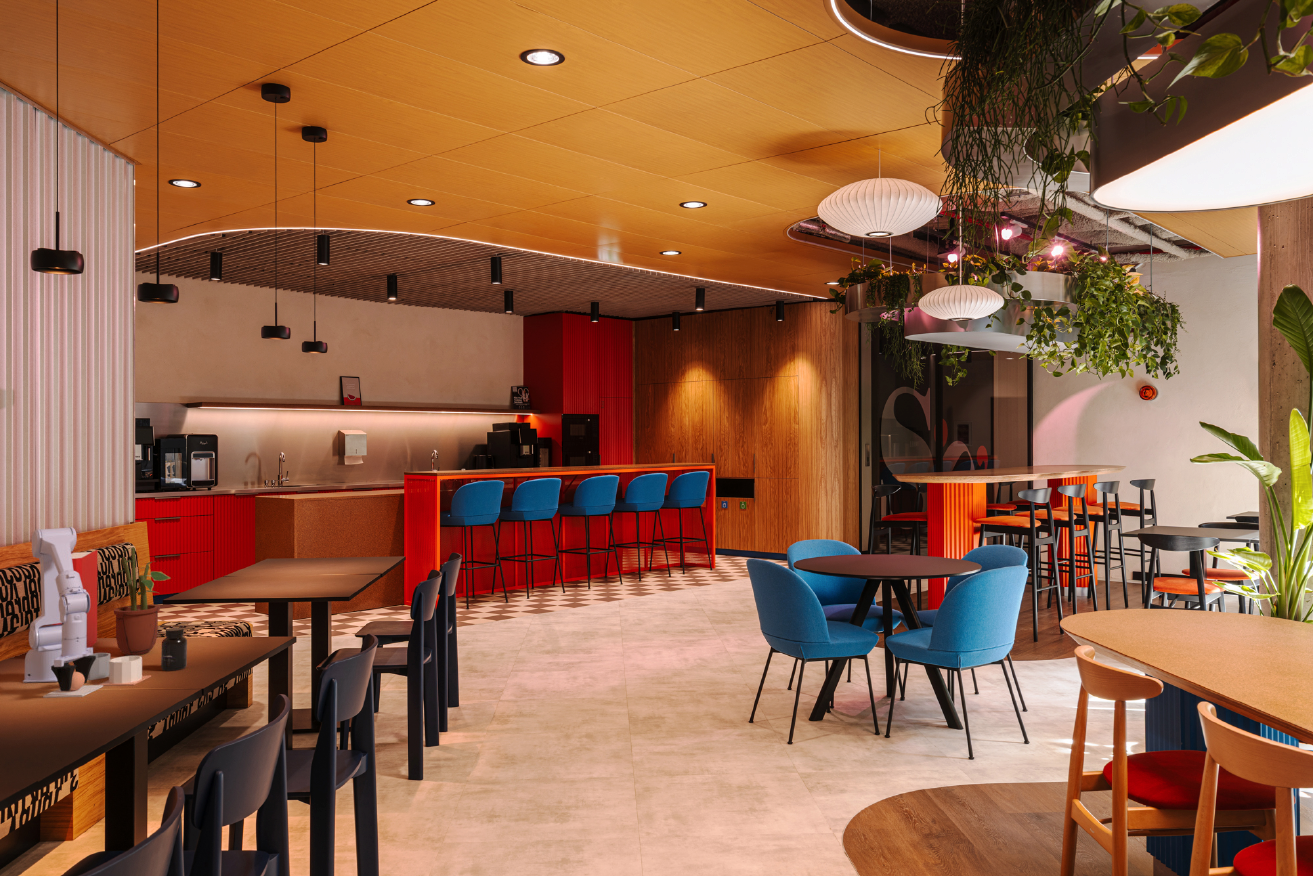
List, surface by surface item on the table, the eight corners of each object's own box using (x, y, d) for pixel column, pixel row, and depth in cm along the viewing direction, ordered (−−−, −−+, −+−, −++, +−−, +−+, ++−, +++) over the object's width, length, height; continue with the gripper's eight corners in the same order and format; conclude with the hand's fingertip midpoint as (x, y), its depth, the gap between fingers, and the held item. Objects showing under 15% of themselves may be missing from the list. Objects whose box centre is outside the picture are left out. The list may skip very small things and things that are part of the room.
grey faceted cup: (71, 680, 253) (72, 659, 253) (87, 673, 261) (88, 653, 261) (100, 679, 254) (100, 659, 254) (115, 672, 262) (115, 652, 262)
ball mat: (43, 697, 236) (43, 695, 236) (65, 687, 246) (65, 685, 246) (82, 696, 236) (82, 694, 236) (102, 686, 246) (103, 685, 246)
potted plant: (144, 658, 280) (145, 548, 281) (96, 658, 281) (97, 548, 281) (175, 646, 298) (175, 542, 298) (130, 646, 298) (130, 543, 299)
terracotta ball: (58, 693, 238) (58, 674, 238) (69, 688, 243) (69, 669, 243) (77, 692, 239) (78, 674, 239) (88, 687, 244) (88, 669, 244)
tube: (99, 685, 247) (99, 663, 247) (117, 677, 257) (117, 655, 257) (133, 685, 248) (134, 662, 248) (151, 676, 257) (151, 655, 258)
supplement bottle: (160, 672, 262) (160, 632, 262) (161, 667, 268) (161, 628, 268) (186, 669, 265) (186, 630, 266) (187, 664, 271) (187, 626, 272)
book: (69, 643, 303) (70, 550, 303) (96, 641, 306) (97, 549, 306) (50, 660, 278) (51, 559, 278) (80, 658, 281) (81, 558, 281)
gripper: (73, 642, 234) (73, 693, 234) (104, 631, 249) (103, 679, 248) (46, 643, 234) (45, 694, 233) (78, 632, 248) (77, 680, 248)
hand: (73, 687), depth 241 cm, fingers open, 7 cm apart
